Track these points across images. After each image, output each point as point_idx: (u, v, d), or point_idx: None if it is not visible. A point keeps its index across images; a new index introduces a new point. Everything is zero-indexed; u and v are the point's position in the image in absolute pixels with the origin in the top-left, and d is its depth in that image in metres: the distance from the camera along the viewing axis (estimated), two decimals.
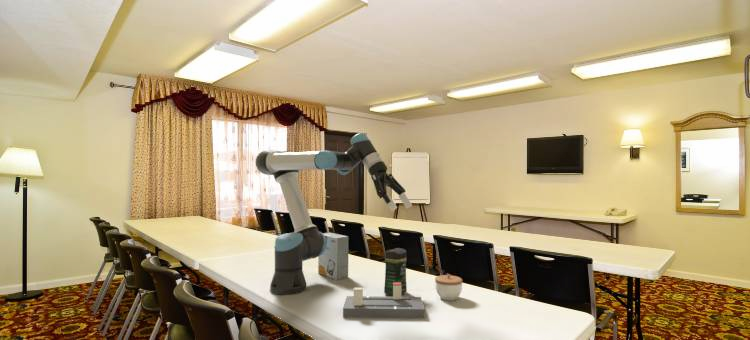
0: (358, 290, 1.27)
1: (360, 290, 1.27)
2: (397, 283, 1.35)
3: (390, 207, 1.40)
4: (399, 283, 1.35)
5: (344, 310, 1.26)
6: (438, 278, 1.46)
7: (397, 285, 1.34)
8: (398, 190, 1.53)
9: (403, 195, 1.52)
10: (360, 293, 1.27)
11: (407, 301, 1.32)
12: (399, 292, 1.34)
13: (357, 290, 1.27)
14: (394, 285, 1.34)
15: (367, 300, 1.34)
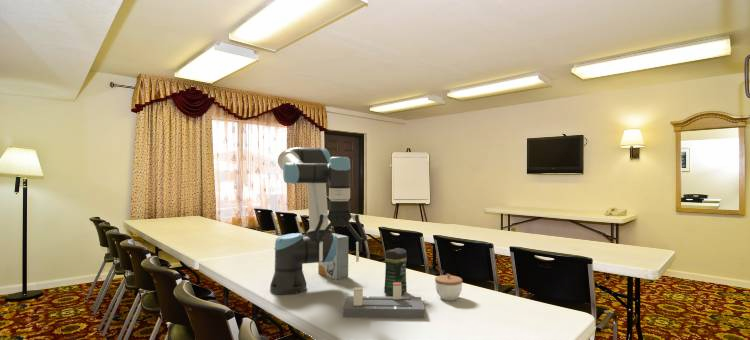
0: (358, 290, 1.27)
1: (360, 290, 1.27)
2: (397, 283, 1.35)
3: None
4: (399, 283, 1.35)
5: (344, 310, 1.26)
6: (438, 278, 1.46)
7: (397, 285, 1.34)
8: (355, 237, 1.29)
9: (356, 246, 1.28)
10: (360, 293, 1.27)
11: (407, 301, 1.32)
12: (399, 292, 1.34)
13: (357, 290, 1.27)
14: (394, 285, 1.34)
15: (367, 300, 1.34)
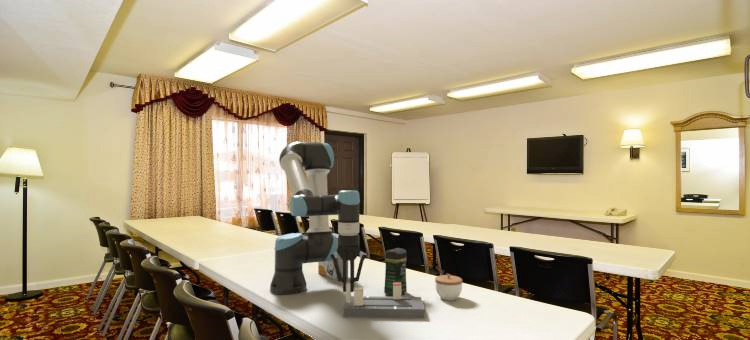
0: (359, 290, 1.27)
1: (361, 290, 1.27)
2: (397, 283, 1.35)
3: None
4: (399, 283, 1.35)
5: (344, 310, 1.26)
6: (438, 278, 1.46)
7: (397, 285, 1.34)
8: (350, 275, 1.28)
9: None
10: (361, 293, 1.27)
11: (407, 301, 1.32)
12: (399, 292, 1.34)
13: (358, 290, 1.27)
14: (394, 285, 1.34)
15: (367, 300, 1.34)
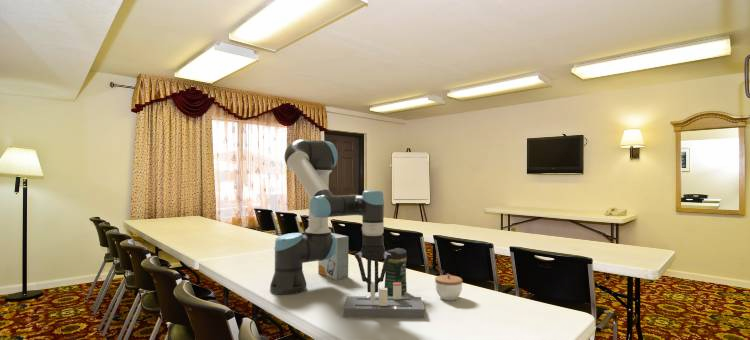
0: (383, 290, 1.27)
1: (385, 290, 1.27)
2: (397, 283, 1.35)
3: None
4: (399, 283, 1.35)
5: (344, 310, 1.26)
6: (438, 278, 1.46)
7: (397, 285, 1.34)
8: None
9: None
10: (385, 293, 1.27)
11: (407, 301, 1.32)
12: (399, 292, 1.34)
13: (382, 290, 1.27)
14: (394, 285, 1.34)
15: (367, 300, 1.34)
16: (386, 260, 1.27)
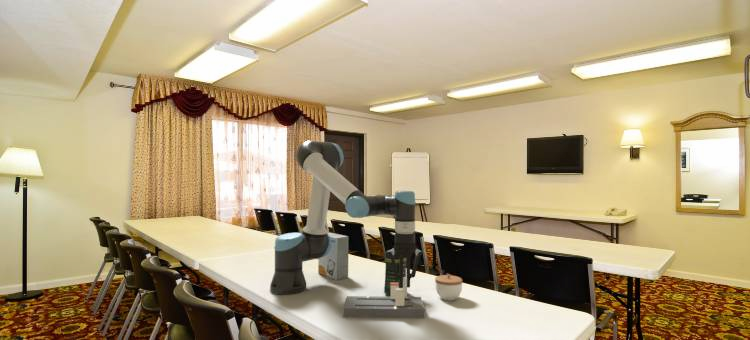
0: (400, 290, 1.27)
1: (402, 290, 1.27)
2: (394, 283, 1.35)
3: None
4: (396, 283, 1.35)
5: (344, 310, 1.26)
6: (438, 278, 1.46)
7: (394, 285, 1.34)
8: (406, 271, 1.35)
9: None
10: (402, 293, 1.27)
11: (407, 301, 1.32)
12: None
13: (399, 290, 1.27)
14: (391, 285, 1.34)
15: (367, 300, 1.34)
16: (418, 257, 1.34)
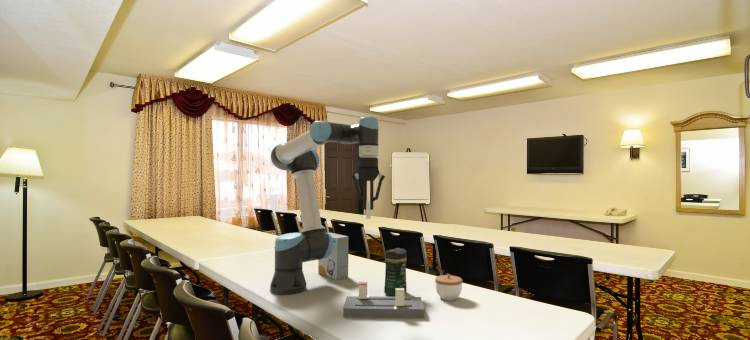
0: (400, 290, 1.27)
1: (402, 290, 1.27)
2: (363, 283, 1.35)
3: None
4: (365, 283, 1.35)
5: (344, 310, 1.26)
6: (438, 278, 1.46)
7: (363, 285, 1.34)
8: (370, 194, 1.40)
9: None
10: (402, 293, 1.27)
11: (407, 301, 1.32)
12: (365, 292, 1.34)
13: (399, 290, 1.27)
14: (360, 285, 1.34)
15: (367, 300, 1.34)
16: (380, 180, 1.40)
